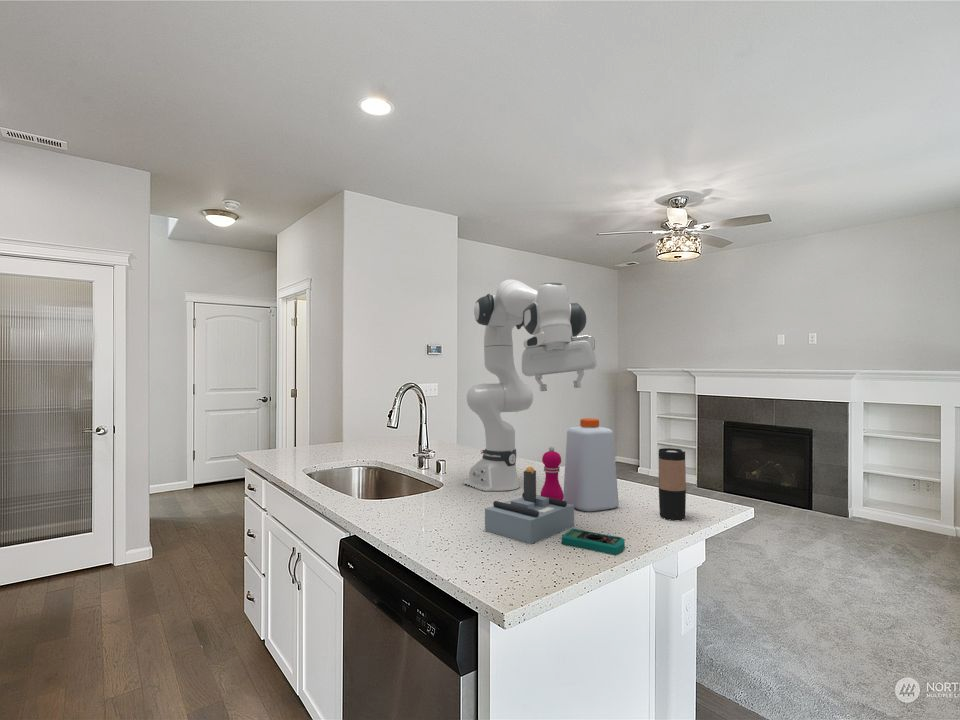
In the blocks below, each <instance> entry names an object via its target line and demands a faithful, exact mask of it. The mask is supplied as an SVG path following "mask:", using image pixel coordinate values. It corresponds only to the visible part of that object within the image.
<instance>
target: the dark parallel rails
mask: <svg viewBox="0 0 960 720" xmlns="http://www.w3.org/2000/svg"><path fill="white" fill-rule="evenodd" d="M536 495H537V496H541V494H540V495H539V494H536ZM521 497H524V492H523V493H522V494H521ZM542 497H544V496H542ZM547 498H549V497H547ZM549 503H550V504H554V505H559V506H563V507H565V506H566V505H567V502H566V501H564V500H559V499H554V498H549ZM492 506H495V507H498V508H502V509H506V510H510V511H514V512H518V513H522V514H526V515H530V516H534V517H538V516H539V512H538V511H536V510H532V509H528V508H524V507H520V506H515V505H511V504H507V503H505V502H502V501H497V500H494V501H493V503H492Z"/></svg>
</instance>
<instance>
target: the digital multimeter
mask: <svg viewBox="0 0 960 720" xmlns="http://www.w3.org/2000/svg"><path fill="white" fill-rule="evenodd" d="M625 543H626V542H625V538H623V537H621V536H615V535H609V534H605V533H604V534H603V533H599V532H593V531H587V530H583V529H578V528H572V529H571V528H570V530H568V531H567V532H565V533H564V534H563V535H562V536H561V545H563V546H569V547H573V548H574V547H575V548H579V549H584V550H589V551H595V552H598V551H599V552H598V553H603V552H604V554H607V553H608V555H612V554H613V556H617V555H618V554H621V553H622V552H623V551H624V550H625V545H626V544H625ZM620 552H621V553H620Z"/></svg>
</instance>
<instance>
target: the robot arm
mask: <svg viewBox="0 0 960 720" xmlns="http://www.w3.org/2000/svg"><path fill="white" fill-rule="evenodd" d="M496 288H497V290H496V294H494V295H492V294H490V293H487V294H486V295H484V296H481V297H479V298H478V299H477V300H476V301H475V304H474V306H473V314H474V315H473V316H474V319H475V321H476V322H477V324H478V325H482V326H485V328H484V329H485V330H484V337H483V350H484V351H483V357H484V360H483V361H484V368H485V369H486V370H487V371H488V372H489V373H491V374H493V375H495V376H496V377H497V378H498V381H499V383H480V384H476V385H473V386H471V387H470V388H469V389H468V391H467V394H466V404H467V405H468V407H469V409H470V410H471V411H472V412H473V413H475V414H476V415H477V416H478V418H479V419H480V421H481V422H482V425H483V427H484V434H485V449H482V450H481V451H480V454H481V455H482V458H481V459H480V460H478V461H477V462H476V463H475V464H474V465H473V466H472V467H470V470H469V476H468V478H467V479H464V480H462V481H463V482H462V484H463V483H464V484H463V485H465V484H467V485H466V486H468V485H470V486H469V487H471V486H472V487H471V488H474V487H475V488H474V489H477V490H480V491H482V490H483V492H490V491H496V492H501V491H502V492H504V491H513V490H514V491H515V490H517V489H518V488H520V487H521V486H520V483H519V479H518V471H517V464H516V463H517V448H516V430H515V428H514V426H513V425H512V424H510V422H506V421H505V420H503V419H502V417H501V414H502V413H517V412H521V411H525V410H529V409H530V407H531V406H532V404H533V401H534V394H533V391H532V389H531V387H530V386H529V385H528V384H527V383H525V382H524V381H523V380H522V379H521V378H520V376H519V375H518V374H519V373H518V372H517V370H516V367H515V359H514V346H513V345H514V343H513V334H512V333H513V329H514V328H516V329H517V330H520V329H521V328H522V327H523V328H524V329H525V330H526V331H527V333H528V334H529V335H533V336H531V337H528V338H527V339H525V340H524V341H523V344H522V345H523V347H524V348H525V349H524V350H523V352H522V354H521V374H522V375H524V376H526V377H534V380H535V381H536V382H537V383H538V385H539V391H540V392H547V391H548V387H547V386H548V385H547V384H545V383H543V381H542V380H543V376H545V375H554V374H562V373H571V372H576V374H577V375H578V376H577V377H576V380H573V382H572V383H573V388H574V389H577V388H578V389H580V388H581V387H582V383H581V381H582V379H583V377H584V375H585V371H587V370H594V369H595V368H596V367H597V359H596V354H595V348H596V343H595V342H596V341H595V339H594V337H593V336H591V335H589V334H583V335H579V334H581V333H582V332H583V330H584V329H585V327H586V325H587V315H586V312H585V310H584V309H583V307H582V306H581V305H580V304H579V303H578V302H570V300H569V294H568V293H569V292H568V291H567V286H566V285H565V284H563V283H560V282H545V283H542V284H540V285H539V286H538V287H537V289H534V288H532V287H531V286H529V285H528V284H526V283H524V282H522V281H520V280H517V279H512V278H511V279H510V278H509V279H506V280H503V281H502V282H501V283H500V284H499V285H498V287H496Z"/></svg>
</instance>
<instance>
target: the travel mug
mask: <svg viewBox="0 0 960 720" xmlns="http://www.w3.org/2000/svg"><path fill="white" fill-rule="evenodd" d="M686 478H687V476H686V451H684V450H682V449H681V448H673V447H669V448H666V447H664V448H658V500H659V502H658V503H659V504H658V505H659V507H658V508H659V516H661V517H663V518H662V519H664V518H665V519H664V520H667V519H671V520H670V521H674V520H679V521H683V520H682V519H684V520H686V509H687V508H686V500H687V499H686V498H687V484H686V483H687V482H686V481H687V479H686ZM661 517H660V518H661Z"/></svg>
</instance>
